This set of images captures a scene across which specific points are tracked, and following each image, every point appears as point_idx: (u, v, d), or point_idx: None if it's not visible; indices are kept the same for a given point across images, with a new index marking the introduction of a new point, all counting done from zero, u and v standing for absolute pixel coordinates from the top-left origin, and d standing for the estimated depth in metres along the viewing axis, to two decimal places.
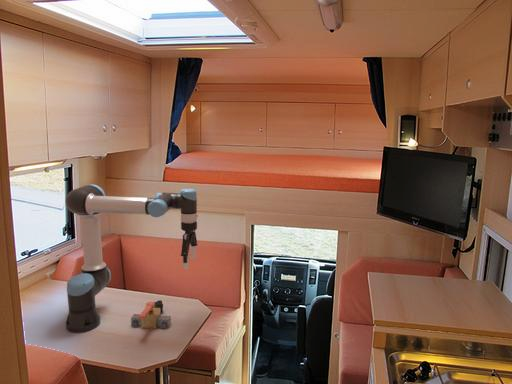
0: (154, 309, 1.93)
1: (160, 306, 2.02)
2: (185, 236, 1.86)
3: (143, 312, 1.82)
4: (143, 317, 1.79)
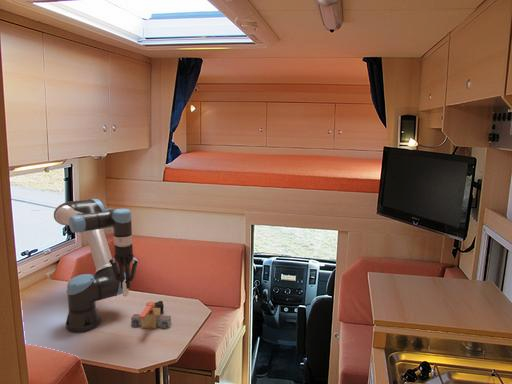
0: (154, 309, 1.93)
1: (160, 306, 2.01)
2: None
3: (143, 312, 1.82)
4: (143, 317, 1.79)
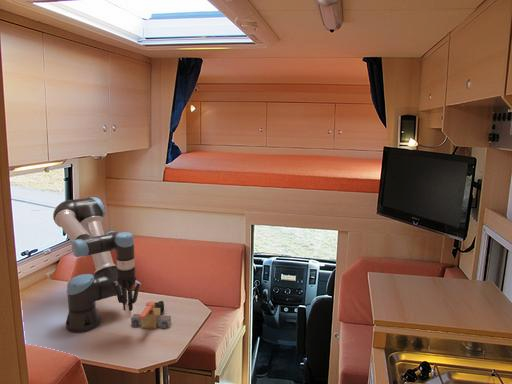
0: (154, 309, 1.93)
1: (161, 307, 2.01)
2: None
3: (143, 312, 1.82)
4: (143, 317, 1.79)
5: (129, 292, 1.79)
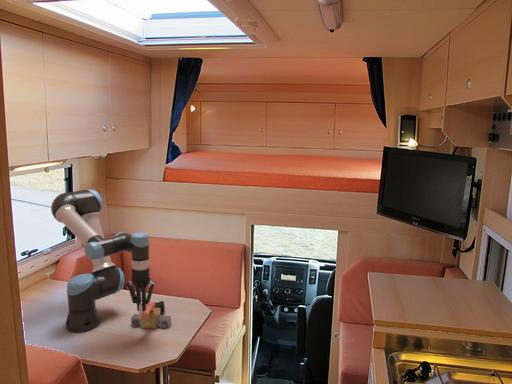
0: (154, 309, 1.93)
1: (161, 307, 2.01)
2: None
3: (145, 312, 1.82)
4: (146, 317, 1.79)
5: (143, 292, 1.78)
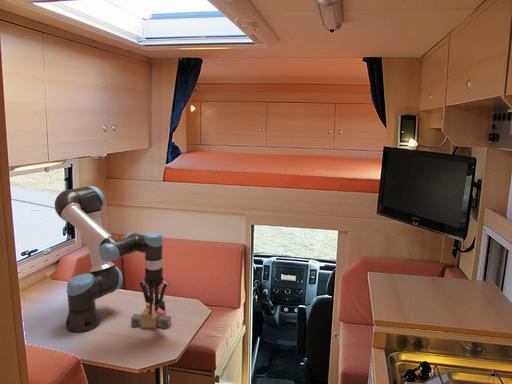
0: None
1: (162, 307, 2.01)
2: None
3: (158, 310, 1.84)
4: (164, 313, 1.82)
5: (156, 292, 1.80)
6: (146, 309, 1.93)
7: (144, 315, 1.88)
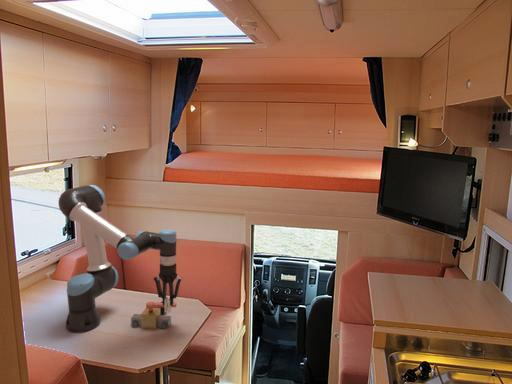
0: (154, 309, 1.93)
1: (162, 307, 2.01)
2: None
3: None
4: (176, 303, 1.92)
5: (171, 287, 1.85)
6: (146, 309, 1.93)
7: (144, 315, 1.88)
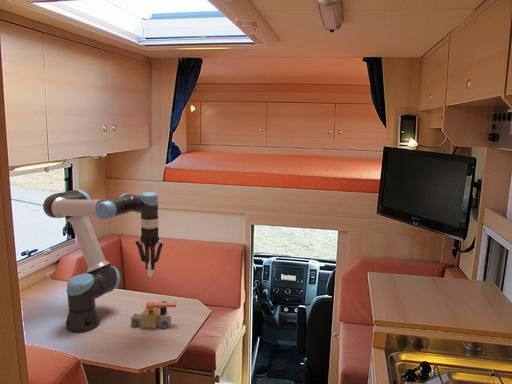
0: (154, 309, 1.93)
1: (163, 307, 2.01)
2: None
3: (168, 304, 1.90)
4: (176, 303, 1.92)
5: (152, 251, 1.82)
6: (146, 309, 1.93)
7: (144, 315, 1.88)
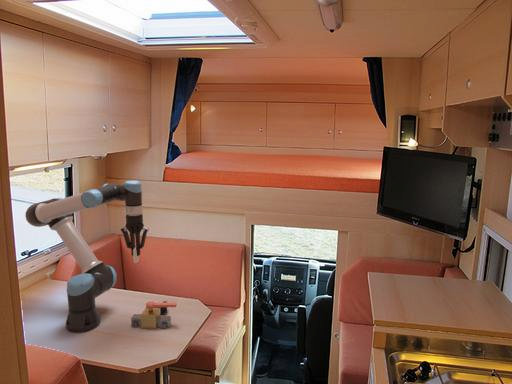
0: (154, 309, 1.93)
1: (163, 307, 2.01)
2: None
3: (168, 304, 1.90)
4: (176, 303, 1.92)
5: (137, 237, 1.89)
6: (146, 309, 1.93)
7: (144, 315, 1.88)
